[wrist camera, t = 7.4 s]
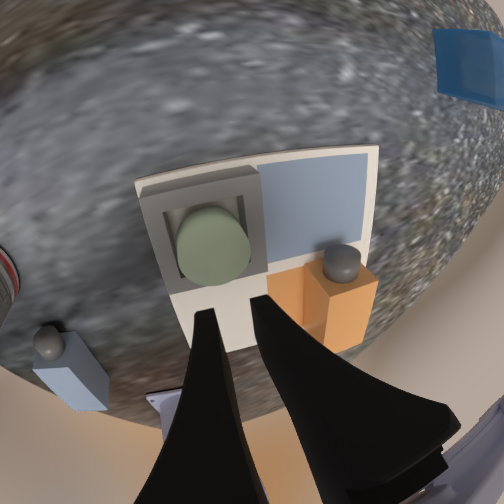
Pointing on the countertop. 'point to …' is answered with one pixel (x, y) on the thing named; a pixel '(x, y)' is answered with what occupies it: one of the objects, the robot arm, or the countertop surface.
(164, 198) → the button housing
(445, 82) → the perfume bottle
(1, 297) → the pill bottle
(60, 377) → the grey-capped blue block
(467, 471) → the robot arm
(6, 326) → the countertop surface
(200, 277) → the button
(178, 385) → the countertop surface
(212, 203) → the sheet
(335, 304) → the orange marker
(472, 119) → the countertop surface
